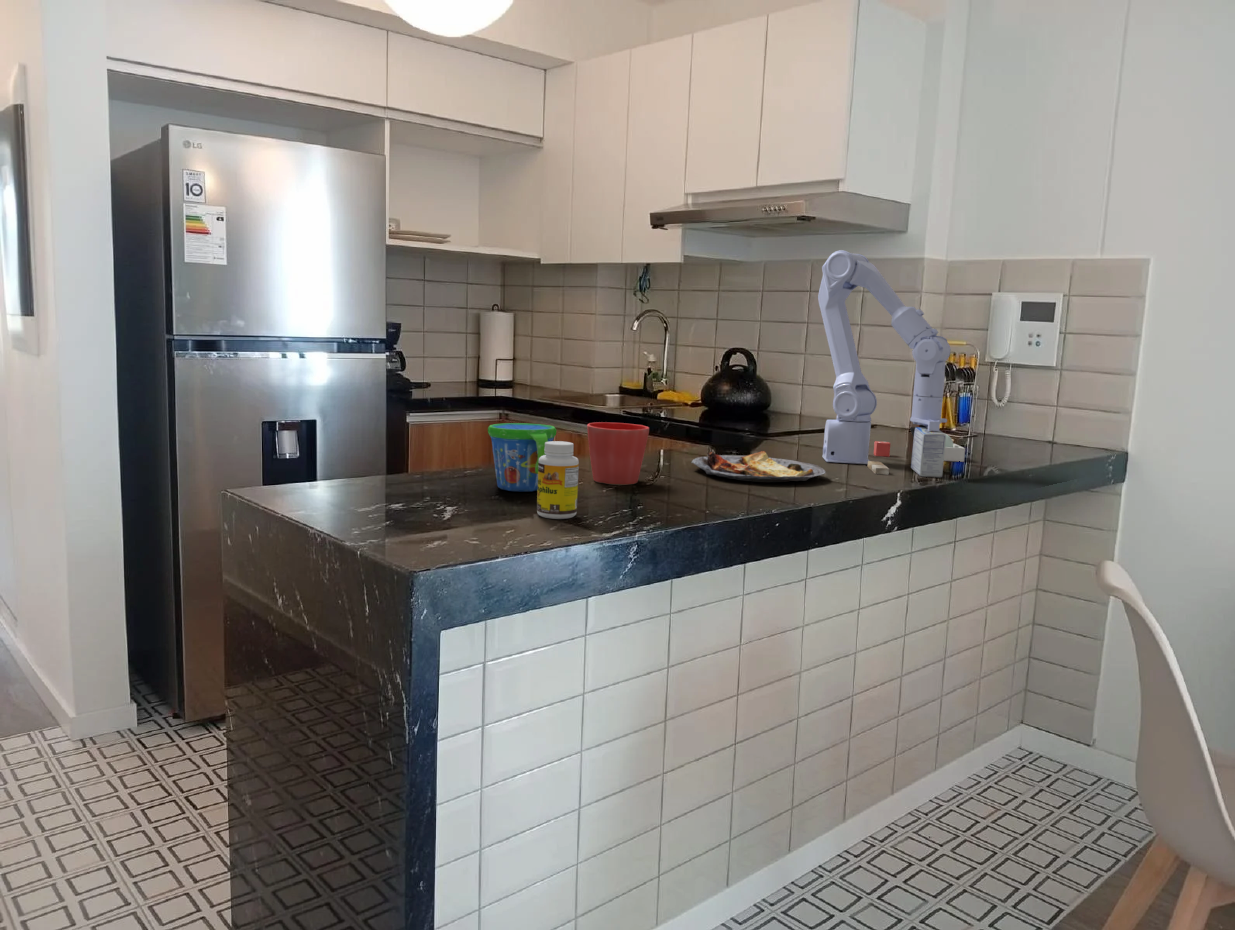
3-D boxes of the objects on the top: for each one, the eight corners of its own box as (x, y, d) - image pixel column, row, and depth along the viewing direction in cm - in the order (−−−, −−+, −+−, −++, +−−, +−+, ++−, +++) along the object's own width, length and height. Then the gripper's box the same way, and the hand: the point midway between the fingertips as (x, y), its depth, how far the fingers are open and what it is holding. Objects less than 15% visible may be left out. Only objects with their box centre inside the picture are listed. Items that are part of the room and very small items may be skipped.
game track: (875, 473, 181) (876, 467, 181) (867, 466, 191) (867, 461, 190) (888, 474, 181) (889, 468, 181) (879, 467, 190) (880, 461, 190)
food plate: (674, 464, 182) (675, 446, 181) (779, 464, 189) (781, 447, 189) (727, 490, 159) (729, 470, 158) (845, 489, 166) (847, 470, 165)
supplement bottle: (528, 514, 128) (530, 441, 127) (558, 510, 132) (560, 439, 131) (554, 521, 124) (557, 446, 123) (585, 517, 128) (587, 444, 127)
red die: (875, 455, 209) (876, 442, 209) (873, 454, 212) (874, 440, 212) (889, 456, 209) (890, 443, 208) (886, 454, 212) (888, 441, 211)
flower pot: (659, 482, 160) (662, 427, 158) (616, 489, 152) (619, 430, 150) (615, 474, 167) (617, 420, 165) (571, 479, 159) (573, 423, 157)
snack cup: (474, 482, 152) (475, 420, 151) (534, 479, 157) (535, 420, 156) (505, 499, 139) (507, 432, 137) (570, 496, 143) (572, 431, 142)
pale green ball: (929, 458, 208) (931, 433, 207) (923, 454, 213) (925, 430, 212) (954, 459, 207) (957, 434, 206) (948, 456, 213) (950, 432, 212)
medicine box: (942, 478, 180) (947, 434, 178) (919, 476, 180) (923, 433, 178) (932, 469, 188) (937, 427, 186) (909, 468, 188) (914, 426, 186)
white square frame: (923, 459, 206) (924, 446, 206) (914, 454, 215) (916, 441, 214) (963, 461, 205) (965, 448, 205) (953, 456, 214) (955, 443, 214)
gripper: (957, 399, 179) (951, 469, 181) (939, 394, 193) (933, 459, 195) (920, 398, 179) (914, 467, 181) (904, 393, 194) (899, 457, 196)
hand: (922, 463), depth 188 cm, fingers closed, pressing on medicine box
